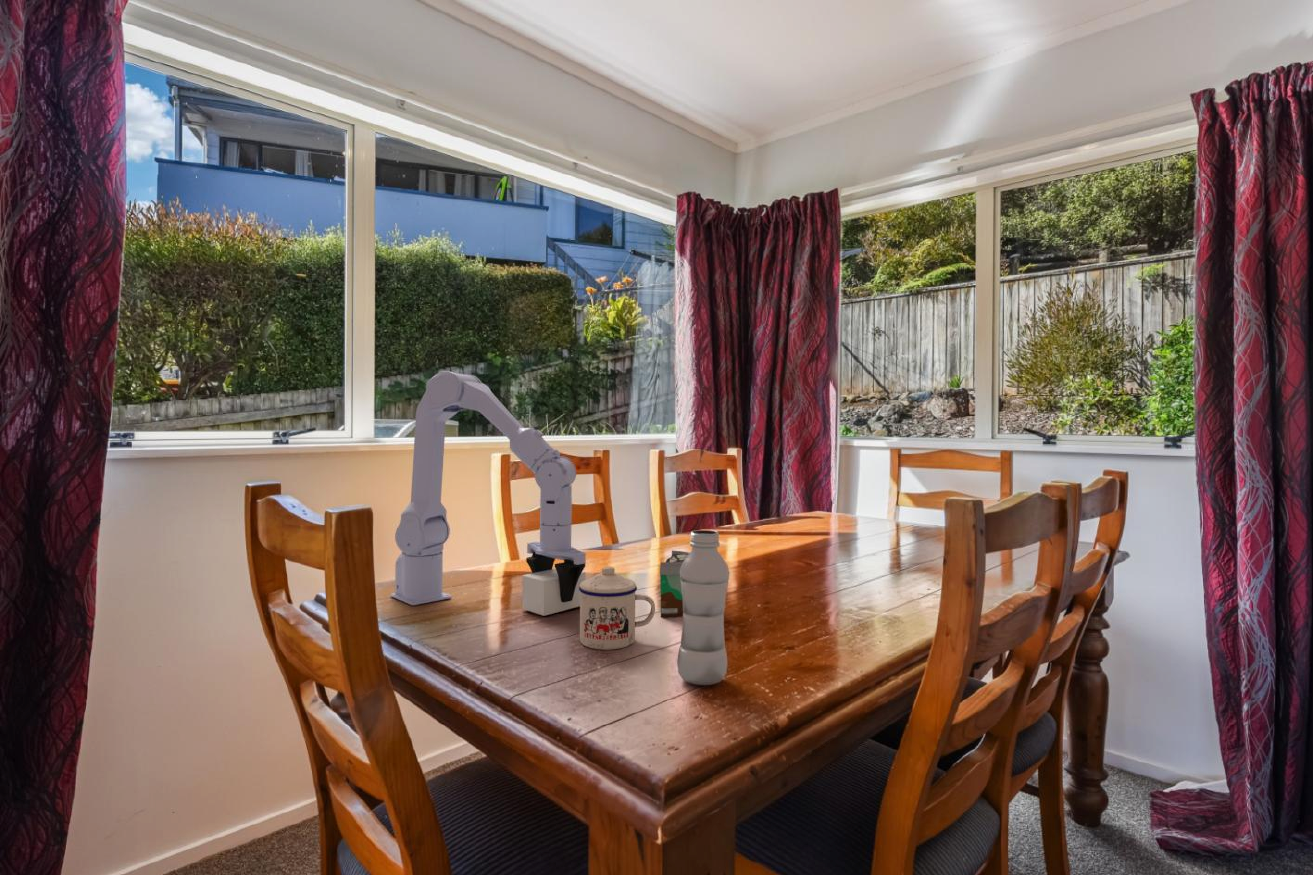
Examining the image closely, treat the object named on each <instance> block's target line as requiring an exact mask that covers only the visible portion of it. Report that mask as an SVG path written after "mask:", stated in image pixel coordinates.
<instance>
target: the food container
mask: <svg viewBox="0 0 1313 875" xmlns="http://www.w3.org/2000/svg"><path fill="white" fill-rule="evenodd" d="M689 553H690V552H688V551H683V550H682V551H681V550H671V556H670V557H669V558H666V560H665V562H663V561H661V562H660V566H659V575H660V618H663V619H664V618H668V619H669V618H673V619H674V618H680V617H681V618H683V613H684V611H683V598H682V589H681V581H680V580H681V579H680V569H681V566H682V563H683V562H684V560H685V559H686V557H687V556H688V554H689Z"/></svg>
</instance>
